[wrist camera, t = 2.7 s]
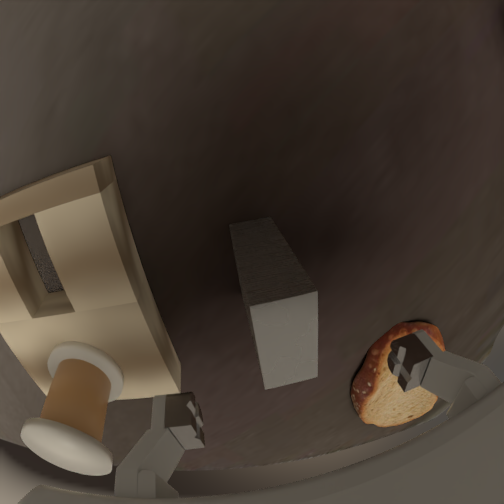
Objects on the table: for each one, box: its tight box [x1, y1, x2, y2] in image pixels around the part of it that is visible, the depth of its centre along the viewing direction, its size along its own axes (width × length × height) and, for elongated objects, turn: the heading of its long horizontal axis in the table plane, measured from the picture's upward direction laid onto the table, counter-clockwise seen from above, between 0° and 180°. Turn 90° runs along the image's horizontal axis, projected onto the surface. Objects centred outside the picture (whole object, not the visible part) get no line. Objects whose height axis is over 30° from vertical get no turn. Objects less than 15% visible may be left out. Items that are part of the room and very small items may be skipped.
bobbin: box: [21, 341, 124, 476], centre depth 14 cm, size 6×6×7 cm
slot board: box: [0, 155, 181, 400], centre depth 16 cm, size 16×12×3 cm
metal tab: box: [229, 217, 318, 390], centre depth 15 cm, size 5×2×8 cm, turn 8°
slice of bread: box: [351, 322, 445, 427], centre depth 28 cm, size 18×18×4 cm
